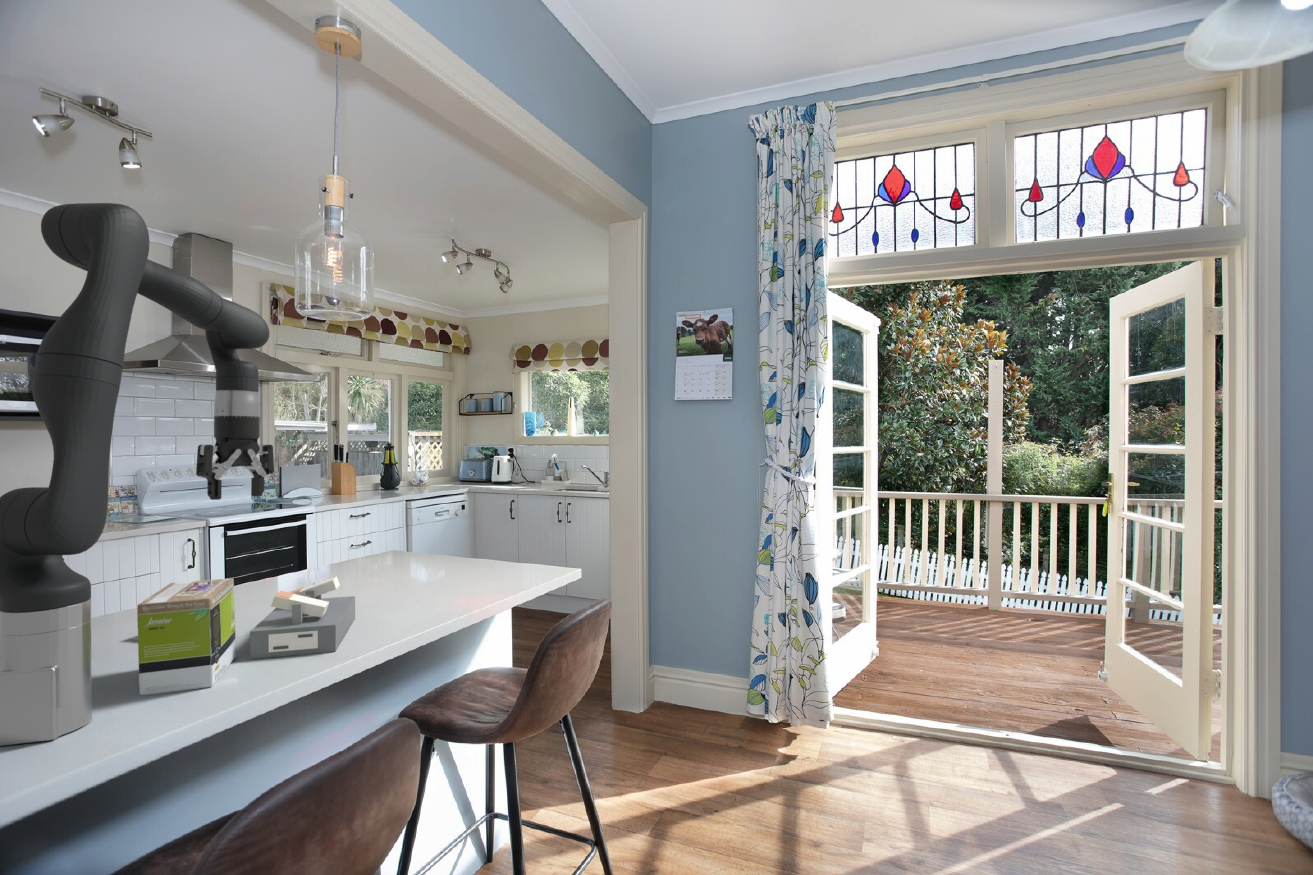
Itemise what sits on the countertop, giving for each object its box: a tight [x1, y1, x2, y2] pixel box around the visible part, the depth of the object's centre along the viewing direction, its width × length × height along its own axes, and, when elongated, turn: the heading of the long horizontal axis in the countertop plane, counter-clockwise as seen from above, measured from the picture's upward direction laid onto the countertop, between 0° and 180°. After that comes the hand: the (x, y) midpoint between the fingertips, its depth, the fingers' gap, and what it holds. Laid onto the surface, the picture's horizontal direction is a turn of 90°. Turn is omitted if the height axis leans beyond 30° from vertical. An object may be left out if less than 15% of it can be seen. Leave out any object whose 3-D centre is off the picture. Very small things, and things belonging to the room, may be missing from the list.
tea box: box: [136, 577, 237, 697], centre depth 108 cm, size 15×10×15 cm, turn 21°
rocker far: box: [290, 575, 341, 597], centre depth 133 cm, size 5×9×2 cm, turn 107°
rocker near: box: [270, 590, 329, 617], centre depth 123 cm, size 5×9×2 cm, turn 107°
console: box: [249, 582, 356, 660], centre depth 128 cm, size 22×14×9 cm, turn 17°
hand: (236, 497), depth 125 cm, fingers open, 8 cm apart
